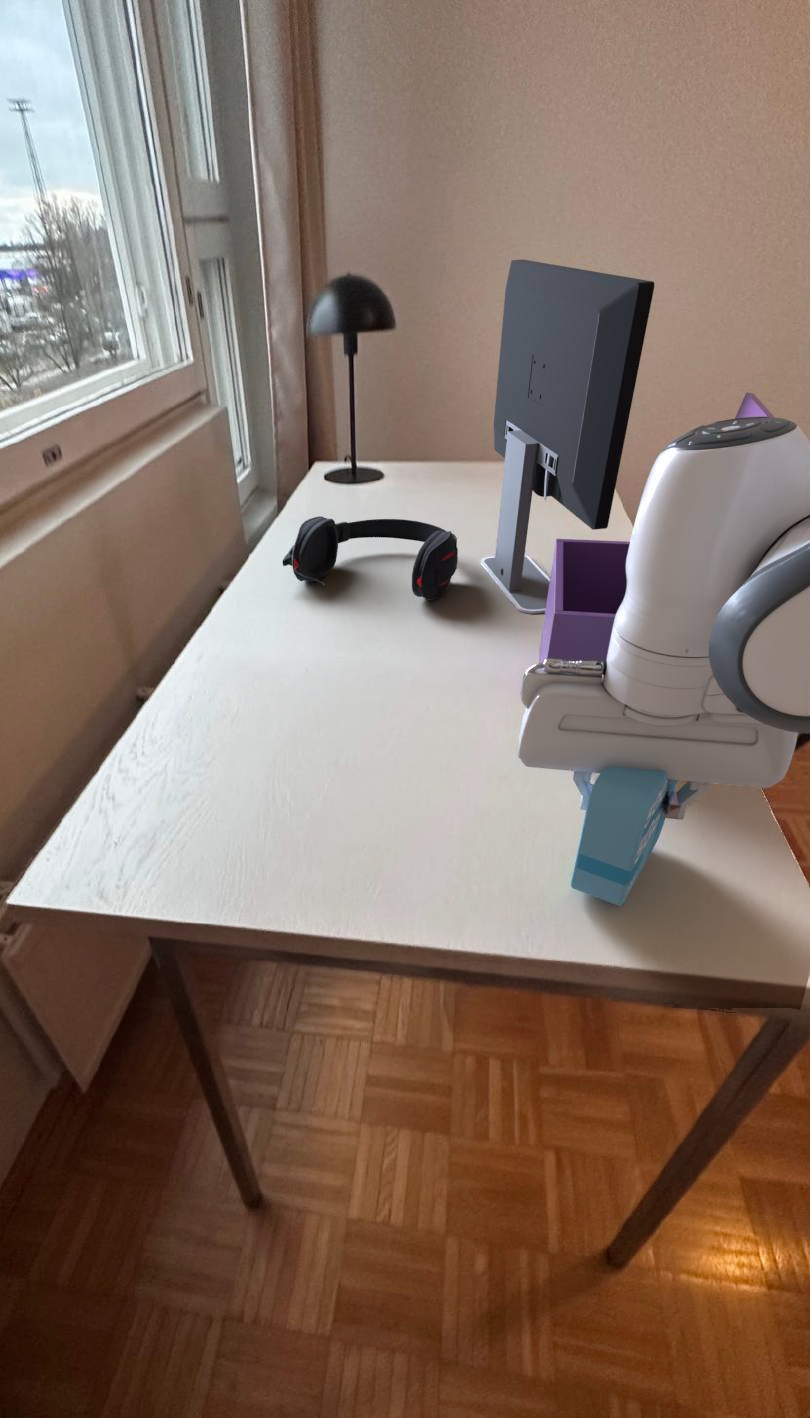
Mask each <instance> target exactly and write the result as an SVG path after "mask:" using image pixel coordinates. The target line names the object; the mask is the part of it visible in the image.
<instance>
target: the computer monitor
mask: <svg viewBox="0 0 810 1418" xmlns="http://www.w3.org/2000/svg"><path fill="white" fill-rule="evenodd" d="M505 284H506V285H505V290H504V291H505V293H504V303H503V314H502V325H501V337H500V349H499V360H498V371H497V372H498V373H497V383H496V394H495V404H494V405H495V406H494V408H495V409H494V417H493V445H494V446H493V448H494V451H495V452H497V453H498V454H499V455H500V456H501V457H503V458H504V465H503V474H502V483H501V484H502V485H501V496H500V497H501V498H500V505H499V515H498V525H497V536H496V545H495V554H494V555H495V556H494V555H493V556H486V557H484V558H482V559H481V560H480V564H481V566H482V567H483V568H484V570H485V571H486V572H487V573H488V574H489V576H490V577H491V578H492V580H493V581H494V582H495V583H496V585H497V586H498V587H499V588H500V590H501V591H502V592H503V593H504V595H505V596H506V597H507V598H508V599H509V602H510V603H512V604H513V606H514V607H515V608H516V610H518V611H519V612H521V613H524V614H532V615H533V614H535V615H536V614H542V613H543V614H545V611H546V604H547V597H548V591H549V584H550V577H549V576H548V575H547V574H546V573H545V571H544V570H543V569H541V568H540V567H539V565H537V563H536V562H535V561H534V560H533V559H532V558H531V557H530V556H529V555H526V548H527V547H526V546H527V540H528V539H527V538H528V530H529V523H530V515H531V514H530V513H531V505H532V498H533V493H534V494H535V495H537V496H538V497H542V498H543V501H544V503H545V502H546V503H547V497H552V498H553V499H554V500H555V501H557V502H558V503H559V504H561V505H562V507H564V508H565V509H567V510H568V511H569V512H570V513H571V514H573V515H574V516H575V517H576V518H578V519H579V520H580V521H581V522H582V523H584V524H585V525H586V526H587V527H589V528H590V529H591V530H593V531H594V530H604V529H607V528H608V527H609V522H610V517H611V512H612V507H613V502H614V497H615V491H616V486H617V482H618V476H619V475H618V474H619V470H620V466H621V461H622V455H623V452H624V451H623V449H624V445H625V439H626V434H627V430H628V425H629V420H630V415H631V409H632V404H633V400H634V393H635V388H636V383H637V378H638V373H639V367H640V363H641V358H642V352H643V347H644V342H645V339H646V337H645V336H646V331H647V326H648V322H649V317H650V311H651V305H652V301H653V296H654V291H655V282H654V281H652V280H646V279H641V278H636V277H629V276H622V275H617V274H611V273H605V272H600V271H593V270H587V269H581V268H575V267H570V266H564V265H558V264H552V263H546V262H540V261H534V260H529V259H511V262H510V265H509V270H508V275H507V280H506V283H505Z"/></svg>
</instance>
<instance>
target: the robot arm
mask: <svg viewBox="0 0 810 1418" xmlns="http://www.w3.org/2000/svg"><path fill="white" fill-rule="evenodd" d="M629 542H630V545H629V549H628V554H627V559H626V578H627V588H626V593H625V596H624V599H623V601H622V603H621V605H620V607H619V609H618V611H617V613H616V616H615V619H614V623H613V628H612V633H611V638H610V643H609V648H608V654H607V660H605V661H592V660H580V661H579V660H573V661H572V660H569V661H568V660H562V659H558V658H549V659H545V661H544V663H539V662H538V663H535V664H534V665H532V666H530V667H529V668H528V669H527V670H526V671H525V672H524V673H523V675H522V678H521V684H520V693H519V695H520V697H519V698H520V700H521V702H522V705H523V706H524V707H525V709H524V713H523V716H522V719H521V720H522V721H521V725H520V729H519V730H520V731H519V736H518V744H517V757H518V758H519V760H520V761H521V762H522V763H523V765H524V766H525V767H527V768H534V769H545V770H557V771H558V770H559V771H568V772H572V780H573V782H574V784H575V786H576V787H577V790H579V793H580V796H579V810H581V811H586V808H587V803H588V799H589V796H590V793H591V790H592V788H593V785H594V783H591V782H590V781H591V780H592V774H600V773H601V772H602V771H603V769H604V768H605V767H619V768H630V769H642V770H653V771H664V772H667V774H668V775H667V779H668V780H677V781H680V782H686V783H684V785H682V786H681V787H680V788H679V789H678V790H677V791H674V792H670V791H668V792H667V794H666V798H665V801H664V804H663V813H664V815H663V816H664V818H665V819H671V820H678V821H679V820H680V821H682V820H683V819H684V818H685V814H686V812H687V808H688V806H689V807H690V806H691V805H692V804H693V803H695V802H696V801H698V800H699V799H700V798H701V797H703V796H704V795H706V794H707V793H708V792H709V789H710V786H711V784H714V785H724V786H737V787H745V788H746V787H747V788H759V789H769V788H771V787H773V786H775V785H777V784H779V783H780V782H781V781H783V780H784V779H785V777H786V775H787V774H788V771H789V769H790V766H791V763H792V760H793V757H794V753H795V750H796V745H797V741H798V736H799V734H806V735H810V440H809V438H808V437H807V435H806V434H805V433H804V431H803V430H802V428H801V427H800V426H799V424H797V423H796V422H794V421H792V420H788V419H786V418H782V417H775V418H770V417H762V416H760V417H743V418H736V419H735V418H731V419H730V418H729V419H724V420H719V421H718V420H717V421H714V422H712V423H709V424H702V425H700V426H697V427H694V428H693V429H690V430H689V431H687V432H685V433H683V434H682V435H680V436H678V437H677V438H675V439H674V440H673V441H671V442H670V443H669V444H668V445H667V447H665V448H664V449H663V450H662V451H660V453H659V454H658V456H657V457H656V459H655V461H654V463H653V464H652V467H651V469H650V472H649V474H648V477H647V480H646V482H645V485H644V488H643V491H642V494H641V498H640V502H639V505H638V508H637V511H636V516H635V520H634V523H633V528H632V532H631V536H630V541H629ZM541 668H544V669H543V670H539V669H541Z"/></svg>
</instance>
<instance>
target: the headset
mask: <svg viewBox="0 0 810 1418" xmlns="http://www.w3.org/2000/svg"><path fill="white" fill-rule="evenodd" d="M362 538H363V539H365V538H366V539H367V538H387V539H397V540H407V541H415V542H421V543H423V544H422V545H421V547H420V548H419V550H418V551H417V552H418V553H417V555H416V557H415V560H414V563H413V567H412V572H411V591H412V593H413V595H414V596H416V597H417V598H424V599H426V600H429V601H431V600H437V599H440V598H442V597H444V595H446V593H447V592H448V589H449V586H450V583H451V580H452V577H453V576H454V574H455V573H456V571H457V568H458V557H459V556H458V555H459V553H458V552H459V551H458V550H459V549H458V537H457V536H456V534H454V533H453V532H452V531H451V530H449V531H447V530H445V529H444V528H442V527H440V526H436V525H433V524H431V523H427V522H423V521H419V520H411V519H404V518H403V519H401V518H375V519H374V518H373V519H365V520H356V521H351V522H348V521H342V522H337V523H336V521H335V520H334V519H333V518H327V517H324V516H320V515H319V516H314V517H312V518H309V519H306V520H305V521H304V522H302V524H300V527H299V530H298V532H297V535H296V538H295V542H294V544H293V545H292V546H291V548H290V549H289V551H288V552H287V553H286V554H285V556H284V557H283V559H282V566H283V567H286V566H291V567H292V571H293V574H294V576H295V578H296V579H297V580H298V581H299V582H303V581H305V582H307V581H308V582H319V583H321V584H322V585H320V586H318V588H322V587H324V586H325V583H324V582H322V581H320V579H321V578H323V577H325V576H326V575H327V574H328V573H329V572H330V571H332V569H333V568H334V566H335V565H336V562H337V557H338V550H339V544H341V543H344V542H348V541H349V540H353V539H362Z"/></svg>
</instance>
